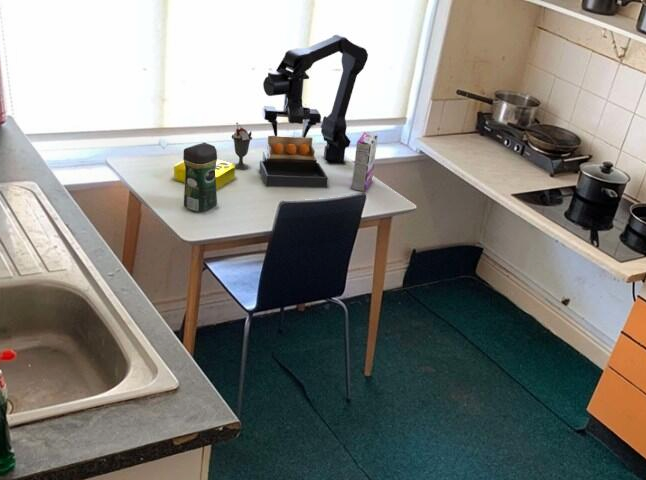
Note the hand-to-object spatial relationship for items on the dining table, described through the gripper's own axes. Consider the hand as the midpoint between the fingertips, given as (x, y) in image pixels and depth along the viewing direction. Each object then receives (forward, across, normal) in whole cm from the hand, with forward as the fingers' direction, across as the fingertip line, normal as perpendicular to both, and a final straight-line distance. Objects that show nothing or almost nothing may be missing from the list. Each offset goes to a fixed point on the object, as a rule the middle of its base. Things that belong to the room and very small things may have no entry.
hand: (289, 139), depth 256 cm
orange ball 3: (+2, +4, -4) cm, 6 cm away
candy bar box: (+10, +23, -13) cm, 28 cm away
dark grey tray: (+10, 0, -10) cm, 14 cm away
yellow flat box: (+10, -29, -12) cm, 33 cm away
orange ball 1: (+2, -4, -4) cm, 6 cm away
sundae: (+10, -16, -1) cm, 19 cm away
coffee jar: (+9, -33, -34) cm, 48 cm away
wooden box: (+4, 0, -4) cm, 5 cm away
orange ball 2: (+2, 0, -4) cm, 4 cm away
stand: (+10, 0, -3) cm, 10 cm away
